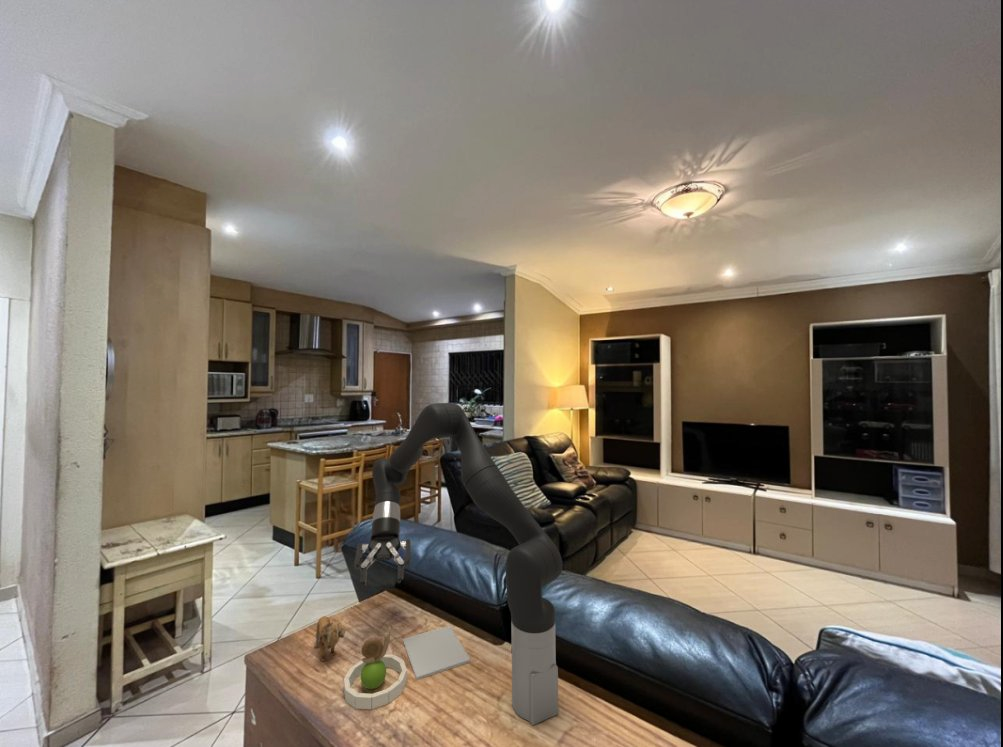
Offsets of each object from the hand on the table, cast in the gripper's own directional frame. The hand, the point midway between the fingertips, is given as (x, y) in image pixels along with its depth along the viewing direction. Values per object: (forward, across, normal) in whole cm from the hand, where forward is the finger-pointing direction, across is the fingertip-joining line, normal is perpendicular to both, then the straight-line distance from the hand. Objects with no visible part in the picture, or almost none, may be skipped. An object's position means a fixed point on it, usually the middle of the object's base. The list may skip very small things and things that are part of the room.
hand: (381, 583), depth 100 cm
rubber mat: (+14, +13, +9) cm, 21 cm away
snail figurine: (+20, 0, +3) cm, 20 cm away
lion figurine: (+10, -13, +14) cm, 22 cm away
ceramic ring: (+20, 0, +3) cm, 20 cm away
